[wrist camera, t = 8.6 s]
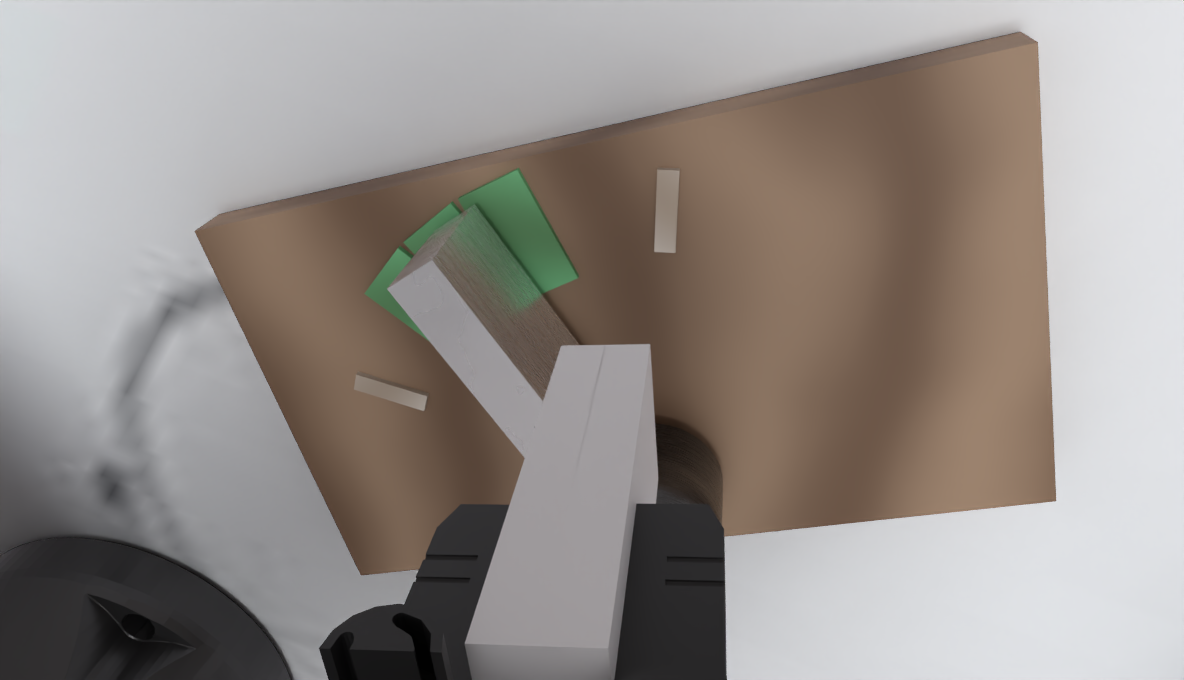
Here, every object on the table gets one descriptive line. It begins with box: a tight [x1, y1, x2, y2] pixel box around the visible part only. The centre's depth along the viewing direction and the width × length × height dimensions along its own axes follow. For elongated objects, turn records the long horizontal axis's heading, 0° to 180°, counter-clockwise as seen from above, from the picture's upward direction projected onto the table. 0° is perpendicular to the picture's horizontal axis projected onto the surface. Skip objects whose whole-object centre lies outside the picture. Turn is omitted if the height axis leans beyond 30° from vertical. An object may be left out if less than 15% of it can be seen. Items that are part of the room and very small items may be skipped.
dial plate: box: [195, 32, 1056, 575], centre depth 28 cm, size 24×14×2 cm, turn 105°
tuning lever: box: [387, 204, 723, 525], centre depth 25 cm, size 13×4×5 cm, turn 35°
